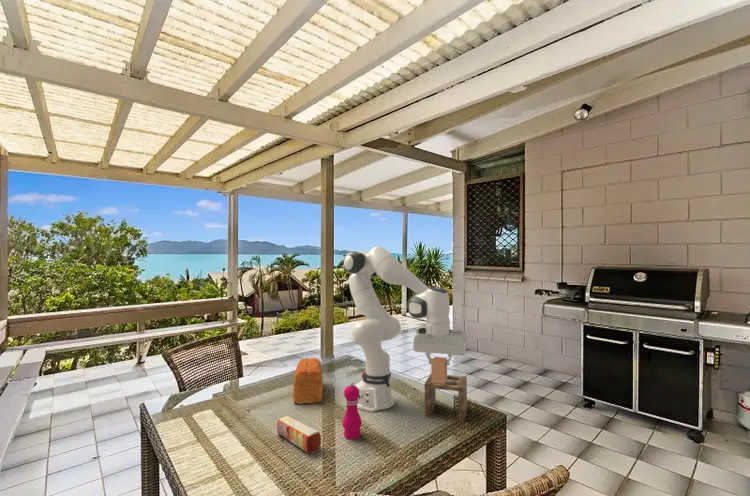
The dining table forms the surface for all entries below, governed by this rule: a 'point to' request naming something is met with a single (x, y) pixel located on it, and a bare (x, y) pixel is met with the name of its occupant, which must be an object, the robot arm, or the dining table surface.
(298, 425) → the snack package
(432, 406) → the stand
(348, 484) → the dining table surface
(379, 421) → the dining table surface
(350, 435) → the pepper mill
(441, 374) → the tall peach block
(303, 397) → the bread
